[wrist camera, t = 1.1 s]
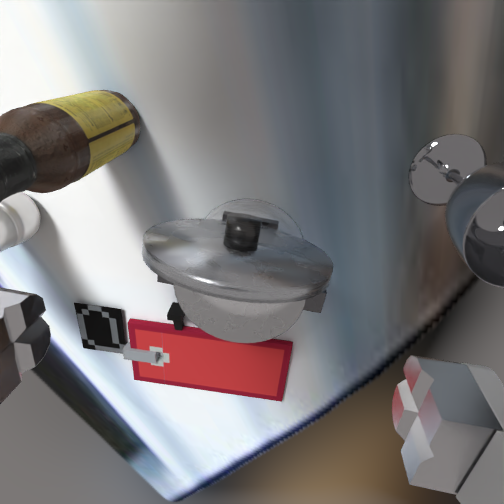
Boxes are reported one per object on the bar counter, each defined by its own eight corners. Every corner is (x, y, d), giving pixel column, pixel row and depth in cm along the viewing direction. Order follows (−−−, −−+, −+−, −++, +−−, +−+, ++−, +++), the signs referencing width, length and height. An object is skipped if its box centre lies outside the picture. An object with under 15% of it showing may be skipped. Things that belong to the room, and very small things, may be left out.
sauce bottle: (77, 91, 36) (-134, 119, 18) (135, 86, 35) (-28, 111, 18) (95, 155, 39) (-72, 232, 21) (149, 152, 38) (21, 230, 21)
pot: (183, 176, 39) (156, 204, 31) (336, 204, 38) (345, 239, 31) (177, 283, 46) (154, 326, 38) (307, 308, 45) (308, 357, 38)
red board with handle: (75, 287, 48) (91, 365, 56) (63, 299, 46) (81, 380, 53) (296, 317, 47) (282, 393, 54) (296, 331, 44) (281, 409, 52)
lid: (175, 220, 32) (178, 187, 31) (320, 247, 31) (328, 214, 30) (104, 276, 19) (106, 222, 18) (343, 322, 19) (357, 270, 18)
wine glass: (461, 218, 37) (548, 304, 24) (390, 195, 37) (439, 268, 24) (509, 144, 33) (644, 199, 20) (430, 117, 33) (515, 155, 20)
